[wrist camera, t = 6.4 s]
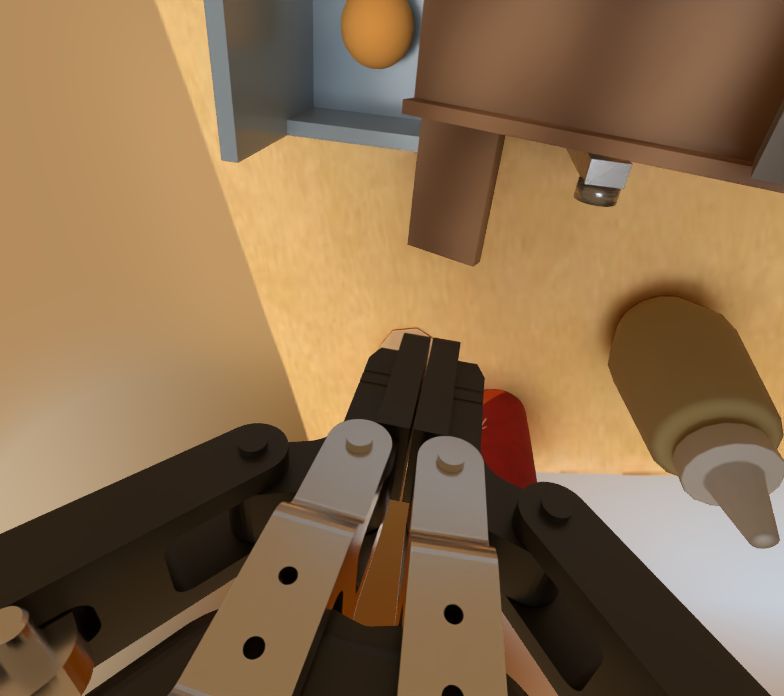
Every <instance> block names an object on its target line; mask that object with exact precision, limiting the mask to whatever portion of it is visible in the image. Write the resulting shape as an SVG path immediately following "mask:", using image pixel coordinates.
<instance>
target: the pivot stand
mask: <svg viewBox="0 0 784 696" xmlns="http://www.w3.org/2000/svg"><path fill="white" fill-rule="evenodd" d="M566 149H567V151H568V153H569V155H570V157H571V159H572V161H573V163H574V165H575V167H576V169H577V171H578V172H579V174H580V177H579V180H578V183H577V187H576V190H575V193H574V198H575V199H577V200H578V201H581V202H583V203H586V204H590V205H595V206H603V207H610V206H614V205H616V203H617V200H618V197H619V194H620V191H621V189H624V186H625V183H626V181H627V178H628V175H629V172H630V169H631V166H632V163H631V162H630V161H627V160H622V159H617V158H612V157H608V156H603V155H598V154H593V153H588V152H584V151H579V150H574V149H569V148H566Z"/></svg>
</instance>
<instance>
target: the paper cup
mask: <svg viewBox="0 0 784 696" xmlns="http://www.w3.org/2000/svg"><path fill="white" fill-rule="evenodd" d="M481 453H482V457H483V459H484V461H485V463H486V464H487V466H488V467H489V468H490V469H491V470H492V471H493V472H494V473H495V474H496V475H498V476H499V477H500V478H502V479H504V480H506V481H507V482H509V483H512V484H514V485H516V486H518V487H520V488H522V489H524V488H525V487H527V486H528V485H530V484H533V483H536V482H537V479H536V472H535V466H534V459H533V453H532V447H531V441H530V435H529V428H528V423H527V418H526V413H525V409H524V407H523V405H522V403H521V402H520V401H519V400H518V399H517V398H516V397H515V396H513V395H512V394H510V393H508V392H505V391H501V390H484V398H483V417H482V436H481Z"/></svg>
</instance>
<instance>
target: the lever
mask: <svg viewBox="0 0 784 696" xmlns="http://www.w3.org/2000/svg"><path fill="white" fill-rule="evenodd" d="M402 114H406V115H411V116H416V117H420V118H421V125H420V135H419V144H418V153H417V162H416V172H415V181H414V190H413V199H412V209H411V218H410V227H409V237H408V245H411V246H414V247H417V248H420V249H422V250H425V251H428V252H431V253H434V254H437V255H440V256H443V257H446V258H449V259H452V260H455V261H458V262H461V263H464V264H467V265H470V266H475V265H476V264H477V263H479V262H480V258H481V253H482V249H483V244H484V239H485V234H486V229H487V224H488V219H489V214H490V209H491V204H492V199H493V194H494V189H495V184H496V179H497V174H498V169H499V164H500V159H501V154H502V149H503V144H504V139H505V135H507V136H512V137H516V138H521V139H526V140H531V141H536V142H540V143H545V144H550V145H555V146H560V147H564V148H569V149H574V150H579V151H584V152H588V153H593V154H598V155H603V156H608V157H612V158H617V159H622V160H627V161H632V162H636V163H641V164H646V165H651V166H656V167H660V168H665V169H670V170H675V171H679V172H684V173H689V174H694V175H699V176H703V177H708V178H713V179H718V180H723V181H727V182H732V183H737V184H742V185H747V186H751V187H756V188H761V189H766V190H771V191H775V192H780V193H784V0H424V2H423V12H422V22H421V33H420V43H419V53H418V63H417V74H416V84H415V94H414V98H407V99H403V102H402Z"/></svg>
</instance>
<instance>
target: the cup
mask: <svg viewBox="0 0 784 696" xmlns="http://www.w3.org/2000/svg"><path fill="white" fill-rule="evenodd" d="M346 1H347V0H204V8H205V17H206V26H207V35H208V44H209V53H210V61H211V70H212V79H213V88H214V97H215V106H216V115H217V124H218V133H219V142H220V151H221V160H222V161H229V162H237V163H238V162H240V161H242V160H244V159H245V158H247V157H249V156H251V155H253V154H254V153H256V152H258V151H260V150H261V149H263V148H265V147H267V146H269V145H270V144H272V143H274V142H276V141H278V140H279V139H281V138H283V137H285V136H286V135H291V136H299V137H306V138H314V139H321V140H329V141H337V142H344V143H352V144H360V145H367V146H375V147H382V148H390V149H398V150H405V151H413V152H418V144H419V135H420V125H421V118H420V117H416V116H411V115H406V114H402V102H403V99H407V98H414V94H415V84H416V74H417V63H418V53H419V43H420V33H421V22H422V12H423V2H424V0H407V1H408V3H409V5H410V8H411V10H412V14H413V19H414V33H413V38H412V42H411V45H410V47H409V49H408V51H407V52H406V54H405V55H404V57H403V58H402V59H401V60H400V61H399V62H397V63H396V64H395V65H393V66H391V67H388V68H385V69H371V68H368V67H365V66H363V65H361V64H359V63H358V62H357V61H356V60H355V59H354V58H353V57H352V56H351V55H350V53H349V52H348V50H347V49H346V47H345V44H344V42H343V39H342V34H341V15H342V11H343V8H344V5H345V3H346Z"/></svg>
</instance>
